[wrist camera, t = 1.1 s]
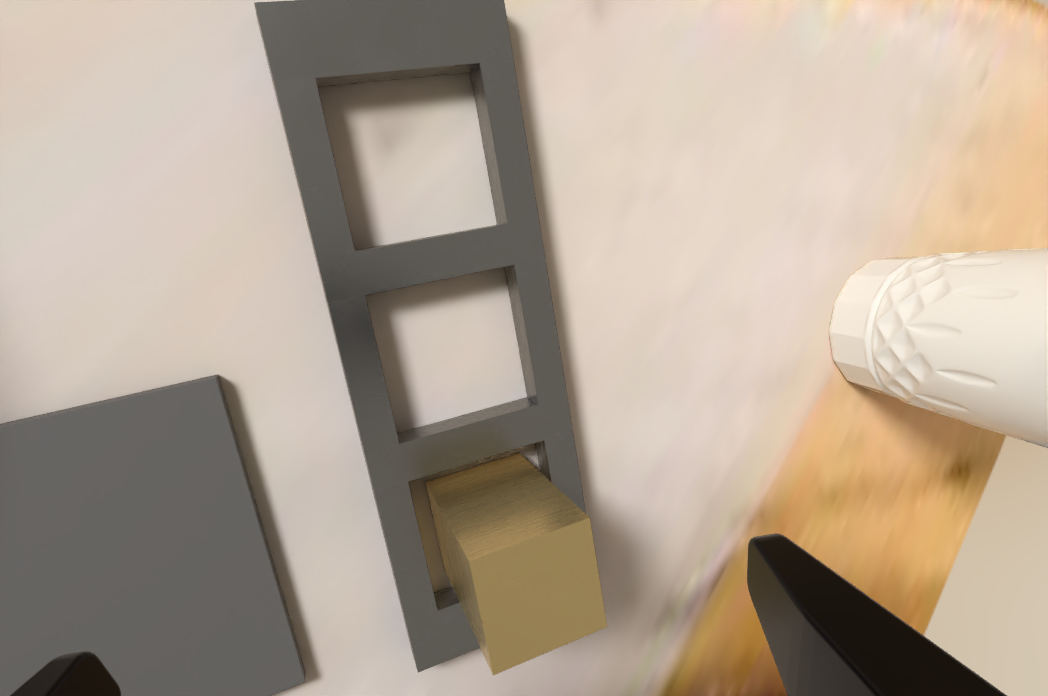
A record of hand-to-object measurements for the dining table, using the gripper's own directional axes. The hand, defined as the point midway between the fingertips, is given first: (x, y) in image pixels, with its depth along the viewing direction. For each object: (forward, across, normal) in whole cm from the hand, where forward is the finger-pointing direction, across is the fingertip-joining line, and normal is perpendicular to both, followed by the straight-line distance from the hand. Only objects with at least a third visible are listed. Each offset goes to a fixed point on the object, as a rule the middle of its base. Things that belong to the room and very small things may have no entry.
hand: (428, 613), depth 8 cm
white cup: (+21, -20, +9) cm, 30 cm away
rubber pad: (+10, +14, +7) cm, 19 cm away
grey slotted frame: (+15, +1, +4) cm, 16 cm away
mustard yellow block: (+13, +1, +10) cm, 17 cm away
